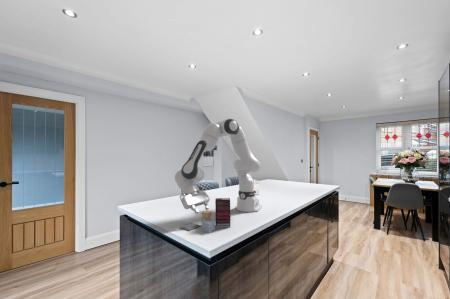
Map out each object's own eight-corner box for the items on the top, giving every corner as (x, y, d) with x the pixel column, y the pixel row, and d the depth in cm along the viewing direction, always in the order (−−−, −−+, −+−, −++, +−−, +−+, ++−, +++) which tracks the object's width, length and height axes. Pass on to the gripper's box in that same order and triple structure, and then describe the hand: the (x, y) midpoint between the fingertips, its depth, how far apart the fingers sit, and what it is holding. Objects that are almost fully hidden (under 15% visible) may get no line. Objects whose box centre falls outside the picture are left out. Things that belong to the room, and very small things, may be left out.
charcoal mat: (190, 223, 122) (190, 222, 122) (200, 226, 118) (200, 225, 118) (179, 228, 115) (179, 227, 115) (189, 231, 110) (189, 230, 110)
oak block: (206, 223, 122) (206, 210, 123) (211, 225, 120) (211, 211, 120) (202, 225, 119) (202, 211, 119) (207, 227, 117) (207, 212, 117)
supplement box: (230, 224, 121) (230, 197, 121) (230, 227, 116) (230, 199, 116) (215, 224, 120) (215, 197, 121) (215, 227, 116) (215, 199, 116)
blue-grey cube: (207, 228, 115) (207, 219, 115) (215, 230, 112) (215, 221, 112) (202, 231, 111) (202, 221, 111) (209, 233, 108) (209, 223, 108)
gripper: (181, 191, 118) (193, 211, 112) (204, 187, 134) (215, 204, 129) (175, 198, 120) (187, 218, 114) (199, 193, 137) (210, 210, 131)
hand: (202, 210), depth 122 cm, fingers open, 8 cm apart
